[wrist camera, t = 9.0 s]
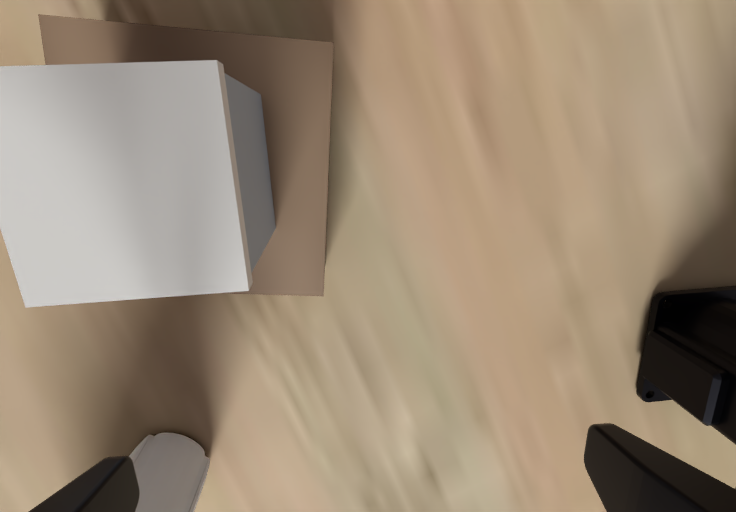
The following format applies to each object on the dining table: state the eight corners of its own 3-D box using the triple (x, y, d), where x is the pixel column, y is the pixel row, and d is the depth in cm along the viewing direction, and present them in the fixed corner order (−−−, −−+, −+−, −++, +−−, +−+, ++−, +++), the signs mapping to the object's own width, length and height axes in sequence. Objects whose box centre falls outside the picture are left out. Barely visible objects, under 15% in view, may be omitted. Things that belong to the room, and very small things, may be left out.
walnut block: (333, 62, 17) (333, 42, 13) (324, 264, 20) (323, 296, 16) (107, 42, 16) (38, 14, 12) (130, 257, 19) (78, 288, 15)
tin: (263, 91, 14) (216, 59, 8) (279, 230, 15) (248, 290, 9) (113, 96, 13) (-51, 67, 7) (144, 239, 15) (25, 307, 9)
